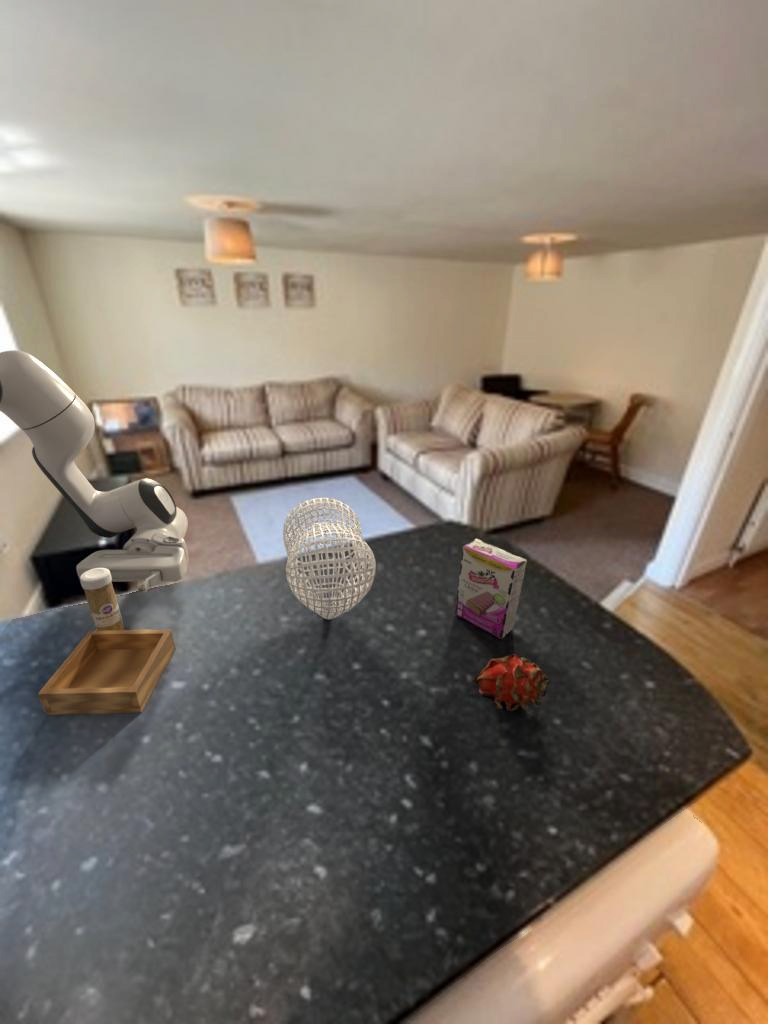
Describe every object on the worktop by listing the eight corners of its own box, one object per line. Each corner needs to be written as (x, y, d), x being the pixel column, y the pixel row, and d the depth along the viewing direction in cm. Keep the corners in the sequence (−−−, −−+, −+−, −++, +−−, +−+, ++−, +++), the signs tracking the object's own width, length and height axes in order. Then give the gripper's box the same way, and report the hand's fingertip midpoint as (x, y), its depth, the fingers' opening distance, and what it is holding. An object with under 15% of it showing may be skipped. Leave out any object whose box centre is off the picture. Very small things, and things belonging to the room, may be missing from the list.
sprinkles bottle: (107, 646, 81) (88, 583, 75) (92, 637, 83) (73, 575, 77) (131, 631, 84) (115, 571, 79) (116, 623, 86) (99, 563, 81)
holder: (45, 715, 67) (37, 694, 65) (95, 649, 80) (89, 630, 78) (141, 712, 68) (135, 692, 66) (175, 648, 81) (171, 629, 79)
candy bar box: (453, 615, 91) (461, 545, 84) (467, 605, 95) (475, 537, 88) (501, 642, 84) (514, 568, 77) (514, 630, 88) (528, 558, 81)
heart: (381, 658, 80) (385, 550, 70) (293, 671, 76) (285, 560, 67) (354, 573, 104) (354, 485, 95) (286, 580, 101) (279, 490, 91)
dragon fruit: (549, 713, 72) (473, 714, 73) (540, 658, 76) (469, 660, 77) (559, 708, 64) (475, 709, 66) (549, 648, 69) (470, 650, 70)
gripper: (94, 539, 96) (54, 574, 83) (192, 539, 97) (167, 574, 84) (101, 564, 98) (63, 602, 86) (196, 564, 100) (173, 601, 87)
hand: (116, 588), depth 85 cm, fingers open, 8 cm apart
